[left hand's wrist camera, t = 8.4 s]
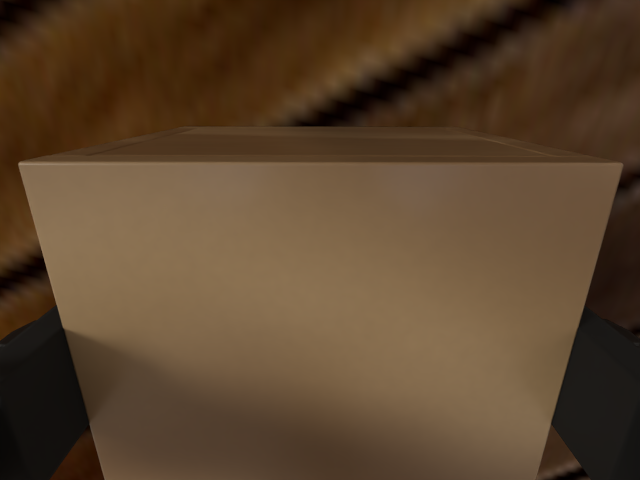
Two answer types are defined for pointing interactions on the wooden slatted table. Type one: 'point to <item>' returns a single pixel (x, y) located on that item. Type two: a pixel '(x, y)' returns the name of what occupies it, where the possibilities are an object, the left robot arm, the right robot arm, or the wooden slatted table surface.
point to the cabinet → (320, 297)
